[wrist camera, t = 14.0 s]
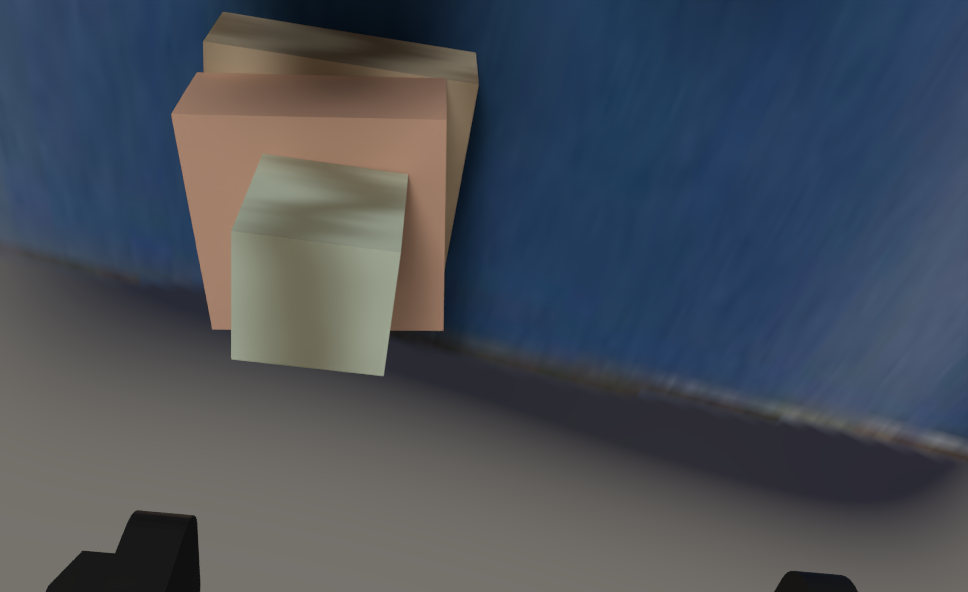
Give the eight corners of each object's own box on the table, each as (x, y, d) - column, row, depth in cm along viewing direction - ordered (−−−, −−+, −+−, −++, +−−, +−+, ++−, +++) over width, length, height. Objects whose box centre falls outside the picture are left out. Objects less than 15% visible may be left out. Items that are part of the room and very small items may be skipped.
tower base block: (475, 49, 38) (478, 84, 35) (439, 252, 44) (439, 297, 41) (224, 9, 36) (203, 41, 33) (224, 224, 43) (206, 269, 39)
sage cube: (408, 174, 32) (400, 252, 28) (392, 289, 36) (383, 375, 31) (262, 153, 32) (231, 231, 27) (259, 272, 35) (231, 359, 30)
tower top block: (446, 78, 34) (446, 119, 31) (443, 278, 40) (443, 330, 37) (196, 72, 34) (170, 114, 31) (231, 276, 40) (212, 329, 37)
